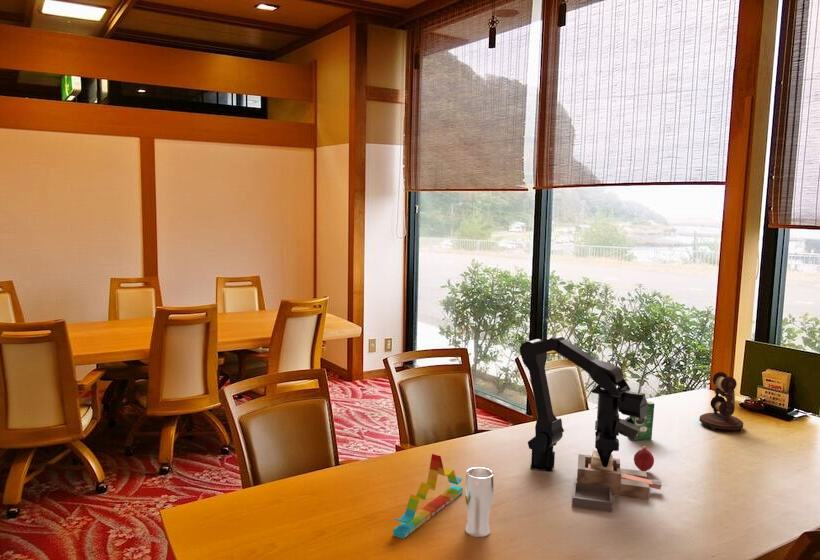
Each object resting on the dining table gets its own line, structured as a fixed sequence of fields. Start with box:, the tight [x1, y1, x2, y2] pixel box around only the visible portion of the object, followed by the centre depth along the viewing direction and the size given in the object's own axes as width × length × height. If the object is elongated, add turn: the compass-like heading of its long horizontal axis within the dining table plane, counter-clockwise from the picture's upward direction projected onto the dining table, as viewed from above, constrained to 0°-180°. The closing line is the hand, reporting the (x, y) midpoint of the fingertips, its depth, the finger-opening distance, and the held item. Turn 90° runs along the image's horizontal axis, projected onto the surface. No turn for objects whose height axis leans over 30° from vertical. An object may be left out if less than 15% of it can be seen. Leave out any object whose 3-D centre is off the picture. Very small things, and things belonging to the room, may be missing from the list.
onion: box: [633, 445, 655, 472], centre depth 198 cm, size 6×6×8 cm
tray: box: [571, 481, 614, 513], centre depth 177 cm, size 10×10×3 cm
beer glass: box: [464, 466, 495, 538], centre depth 159 cm, size 7×7×15 cm
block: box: [590, 449, 614, 471], centre depth 187 cm, size 6×6×4 cm
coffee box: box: [627, 401, 655, 441], centre depth 226 cm, size 8×3×13 cm, turn 103°
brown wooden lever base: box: [576, 453, 650, 501], centre depth 187 cm, size 19×12×6 cm, turn 74°
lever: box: [588, 463, 663, 490], centre depth 186 cm, size 20×7×2 cm, turn 74°
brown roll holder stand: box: [698, 371, 744, 432], centre depth 241 cm, size 15×15×20 cm
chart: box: [392, 453, 464, 540], centre depth 168 cm, size 30×3×15 cm, turn 148°
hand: (604, 463), depth 187 cm, fingers closed on block, 5 cm apart
